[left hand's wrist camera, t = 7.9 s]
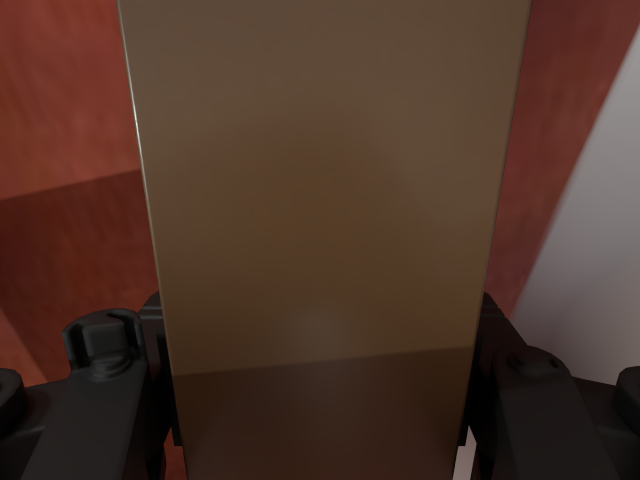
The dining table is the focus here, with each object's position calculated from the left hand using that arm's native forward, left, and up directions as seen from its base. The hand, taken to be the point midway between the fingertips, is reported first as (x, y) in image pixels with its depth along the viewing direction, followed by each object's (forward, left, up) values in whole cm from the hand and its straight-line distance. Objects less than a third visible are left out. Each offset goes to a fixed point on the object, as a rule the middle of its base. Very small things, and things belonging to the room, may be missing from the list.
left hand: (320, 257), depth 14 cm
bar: (+24, 0, -1) cm, 24 cm away
